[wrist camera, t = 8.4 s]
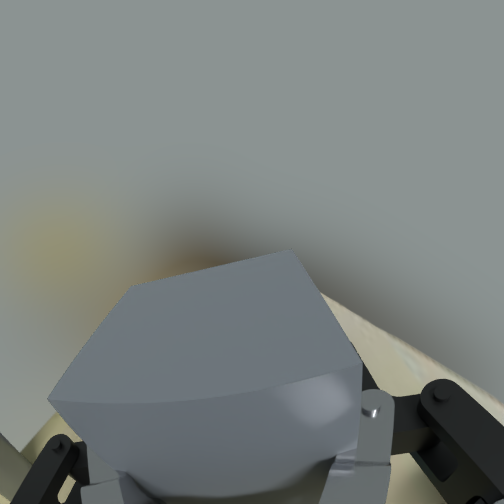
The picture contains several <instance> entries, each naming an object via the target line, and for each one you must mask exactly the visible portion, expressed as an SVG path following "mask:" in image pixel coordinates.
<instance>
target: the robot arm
mask: <svg viewBox="0 0 504 504" xmlns="http://www.w3.org/2000/svg"><path fill="white" fill-rule="evenodd" d="M351 344H352V342H351ZM352 346H353V344H352ZM353 347H354V346H353ZM354 349H355V347H354ZM355 351H356V349H355ZM356 352H357V351H356ZM357 354H358V353H357ZM358 356H359V354H358ZM359 357H360V356H359ZM360 359H361V357H360ZM361 361H362V360H361ZM362 362H363V361H362ZM403 453H410V454H411V456H412V457H413V458H414V460H415V461H416V462H417V464H418V465H419V466H420V468H421V469H422V470H423V472H424V473H425V474H426V475H427V477H428V478H429V479H430V481H431V482H432V483H433V485H434V486H435V487H436V489H437V490H438V491H439V493H440V494H441V495H442V497H443V498H444V499H445V501H446V502H447V503H448V504H504V426H503V425H502V424H501V423H500V422H498V421H497V420H496V419H495V418H494V417H493V416H492V415H491V414H490V413H489V412H488V411H487V410H485V409H484V408H483V407H482V406H481V405H480V404H479V403H478V402H477V401H476V400H474V399H473V398H472V397H471V396H470V395H469V394H468V393H467V392H466V391H464V390H463V389H462V388H461V387H460V386H459V385H458V384H456V383H455V382H453V381H451V380H448V379H437V380H434V381H431V382H430V383H428V384H427V385H426V386H425V387H424V388H423V390H422V392H421V394H416V395H410V396H403V397H395V396H391V395H390V394H388V393H387V392H385V391H382V390H380V389H379V388H378V386H377V385H376V383H375V381H374V379H373V378H372V376H371V374H370V373H369V371H368V369H367V368H366V366H365V364H364V362H363V367H362V394H361V410H360V423H359V433H358V443H357V448H355V449H352V450H349V451H346V452H343V453H339V454H337V456H336V459H335V462H334V463H333V464H332V466H331V469H330V471H329V474H328V478H327V481H326V484H325V487H324V490H323V493H322V496H321V499H320V502H319V504H385V502H386V497H387V492H388V486H389V480H390V474H391V463H390V456H391V455H396V454H403ZM68 475H69V476H70V477H72V478H73V479H74V480H75V481H76V482H75V484H74V486H73V488H72V490H71V492H70V494H69V496H68V498H67V500H66V501H65V503H63V504H167V503H166V502H164V501H163V500H161V499H160V498H153V497H148V496H147V495H145V494H144V493H142V492H141V491H140V489H139V488H138V487H137V485H136V483H135V480H134V478H133V477H131V476H130V475H129V474H128V473H127V472H125V471H120V470H114V469H112V468H111V467H110V466H109V465H108V464H107V463H106V462H104V461H103V460H102V459H101V458H100V457H99V456H98V455H97V454H96V453H95V452H94V451H93V450H92V449H91V448H90V447H89V446H88V445H87V444H86V443H85V442H84V441H81V442H75V443H74V442H73V441H72V440H71V439H70V438H69V437H68V436H67V435H64V434H58V435H55V436H53V437H52V438H50V440H49V441H48V442H47V444H46V445H45V447H44V448H43V450H42V451H41V453H40V454H39V456H38V457H37V459H36V461H35V462H34V464H33V465H32V464H31V463H30V462H29V461H28V460H27V459H26V458H25V457H24V456H22V455H21V454H20V453H19V452H18V451H17V450H16V449H15V448H14V447H13V446H12V445H11V444H10V443H9V441H8V440H7V439H6V438H5V437H4V436H3V435H2V434H1V433H0V494H1V495H2V496H4V497H5V498H6V499H8V500H9V501H11V503H10V504H61V503H60V502H59V501H58V497H57V496H58V493H59V491H60V489H61V487H62V485H63V483H64V481H65V480H66V478H67V476H68Z"/></svg>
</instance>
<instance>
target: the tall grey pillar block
mask: <svg viewBox="0 0 504 504" xmlns="http://www.w3.org/2000/svg"><path fill="white" fill-rule="evenodd" d="M362 367H363V362H362V361H361V359H360V357H359V356H358V354H357V352H356V351H355V349H354V347H353V346H352V344H351V342H350V341H349V339H348V337H347V336H346V334H345V332H344V331H343V329H342V327H341V326H340V324H339V323H338V321H337V319H336V318H335V316H334V314H333V313H332V311H331V310H330V308H329V306H328V305H327V303H326V302H325V300H324V298H323V297H322V295H321V294H320V292H319V290H318V289H317V287H316V286H315V284H314V283H313V281H312V280H311V278H310V277H309V275H308V273H307V272H306V270H305V269H304V267H303V266H302V264H301V263H300V261H299V259H298V258H297V256H296V255H295V253H294V252H293V250H292V249H289V250H285V251H280V252H276V253H272V254H268V255H264V256H259V257H255V258H251V259H246V260H242V261H238V262H234V263H229V264H226V265H221V266H217V267H213V268H208V269H204V270H199V271H195V272H191V273H186V274H182V275H178V276H174V277H170V278H165V279H160V280H156V281H152V282H147V283H143V284H139V285H134V286H131V287H130V288H129V290H128V291H127V292H126V293H125V294H124V296H123V297H122V298H121V299H120V300H119V302H118V303H117V304H116V305H115V307H114V308H113V309H112V310H111V312H110V313H109V314H108V315H107V317H106V318H105V319H104V320H103V322H102V323H101V324H100V326H99V327H98V328H97V329H96V331H95V332H94V333H93V335H92V336H91V337H90V339H89V340H88V341H87V343H86V344H85V345H84V347H83V348H82V349H81V351H80V352H79V353H78V355H77V356H76V358H75V359H74V360H73V362H72V363H71V365H70V366H69V367H68V369H67V370H66V372H65V373H64V374H63V376H62V378H61V379H60V380H59V382H58V383H57V385H56V386H55V388H54V389H53V391H52V392H51V394H50V395H49V397H48V398H47V399H48V401H49V402H50V403H51V405H52V406H53V407H54V408H55V410H56V411H57V412H58V413H59V414H60V416H61V417H62V418H63V419H64V420H65V422H66V423H67V424H68V425H69V426H70V427H71V428H72V429H73V431H74V432H75V433H76V434H77V435H78V436H79V437H80V438H81V439H82V440H83V441H84V442H85V443H86V444H87V445H88V446H89V447H90V448H91V449H92V450H93V451H94V452H95V453H96V454H97V455H98V456H99V457H100V458H101V459H102V460H103V461H104V462H106V463H107V464H108V465H109V466H110V467H111V468H112V469H114V470H120V471H125V472H127V473H128V474H129V475H130V476H131V477H133V478H134V480H135V483H136V485H137V487H138V488H139V489H140V491H141V492H142V493H144V494H145V495H147V496H148V497H153V498H160V499H161V500H163V501H164V502H166V503H167V504H319V502H320V499H321V496H322V493H323V490H324V487H325V484H326V481H327V478H328V474H329V471H330V469H331V466H332V464H333V463H334V462H335V459H336V456H337V454H339V453H343V452H346V451H349V450H352V449H355V448H357V443H358V433H359V423H360V410H361V394H362Z"/></svg>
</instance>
